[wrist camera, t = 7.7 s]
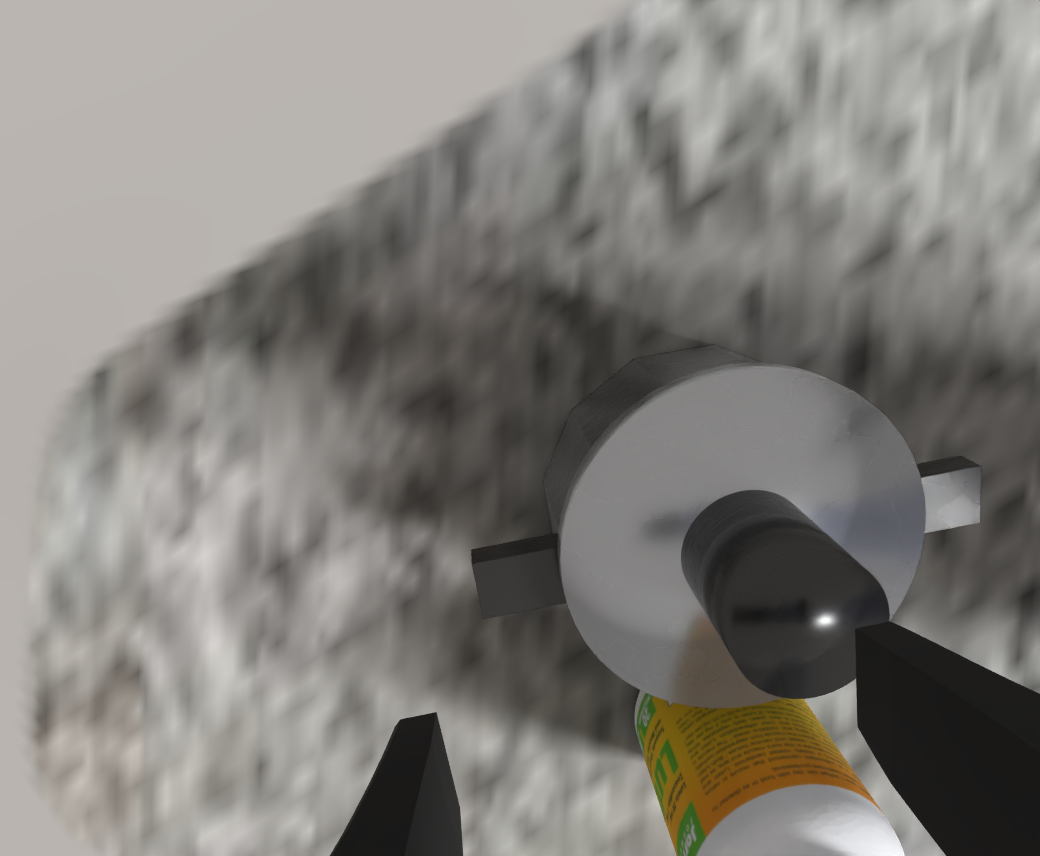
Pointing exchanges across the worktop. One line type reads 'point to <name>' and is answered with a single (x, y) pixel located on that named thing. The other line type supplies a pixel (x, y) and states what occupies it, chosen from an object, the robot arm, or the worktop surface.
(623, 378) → the pot
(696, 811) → the supplement bottle
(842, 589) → the lid
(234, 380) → the worktop surface
